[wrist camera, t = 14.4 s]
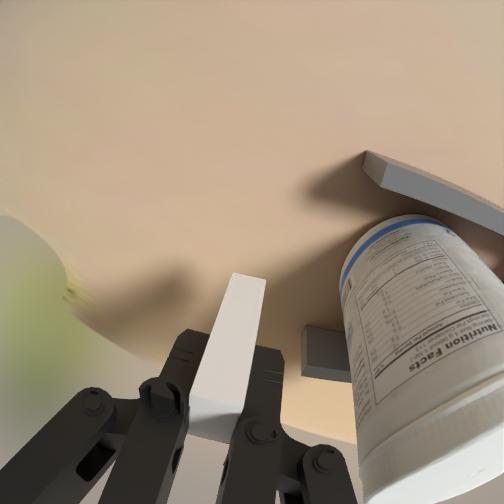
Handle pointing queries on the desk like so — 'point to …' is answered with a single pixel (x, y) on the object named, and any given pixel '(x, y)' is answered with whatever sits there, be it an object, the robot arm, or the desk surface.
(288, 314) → the desk surface
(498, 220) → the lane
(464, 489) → the supplement tub
